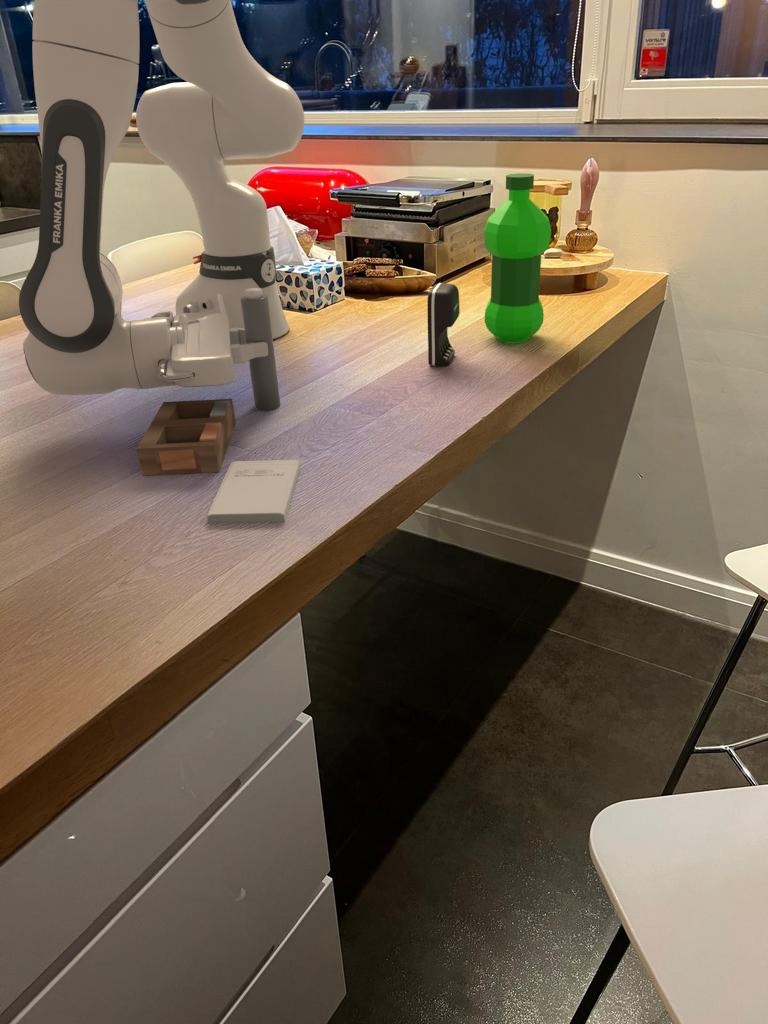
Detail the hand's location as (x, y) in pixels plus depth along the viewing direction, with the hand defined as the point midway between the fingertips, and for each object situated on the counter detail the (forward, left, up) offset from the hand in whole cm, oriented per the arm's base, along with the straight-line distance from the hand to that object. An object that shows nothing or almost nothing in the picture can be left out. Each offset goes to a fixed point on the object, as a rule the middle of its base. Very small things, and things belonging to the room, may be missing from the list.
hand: (266, 341), depth 104 cm
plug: (-1, -1, -9) cm, 9 cm away
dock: (-1, -16, -9) cm, 18 cm away
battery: (+14, +25, -9) cm, 31 cm away
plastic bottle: (+20, +39, -9) cm, 45 cm away
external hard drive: (+13, -22, -10) cm, 27 cm away
